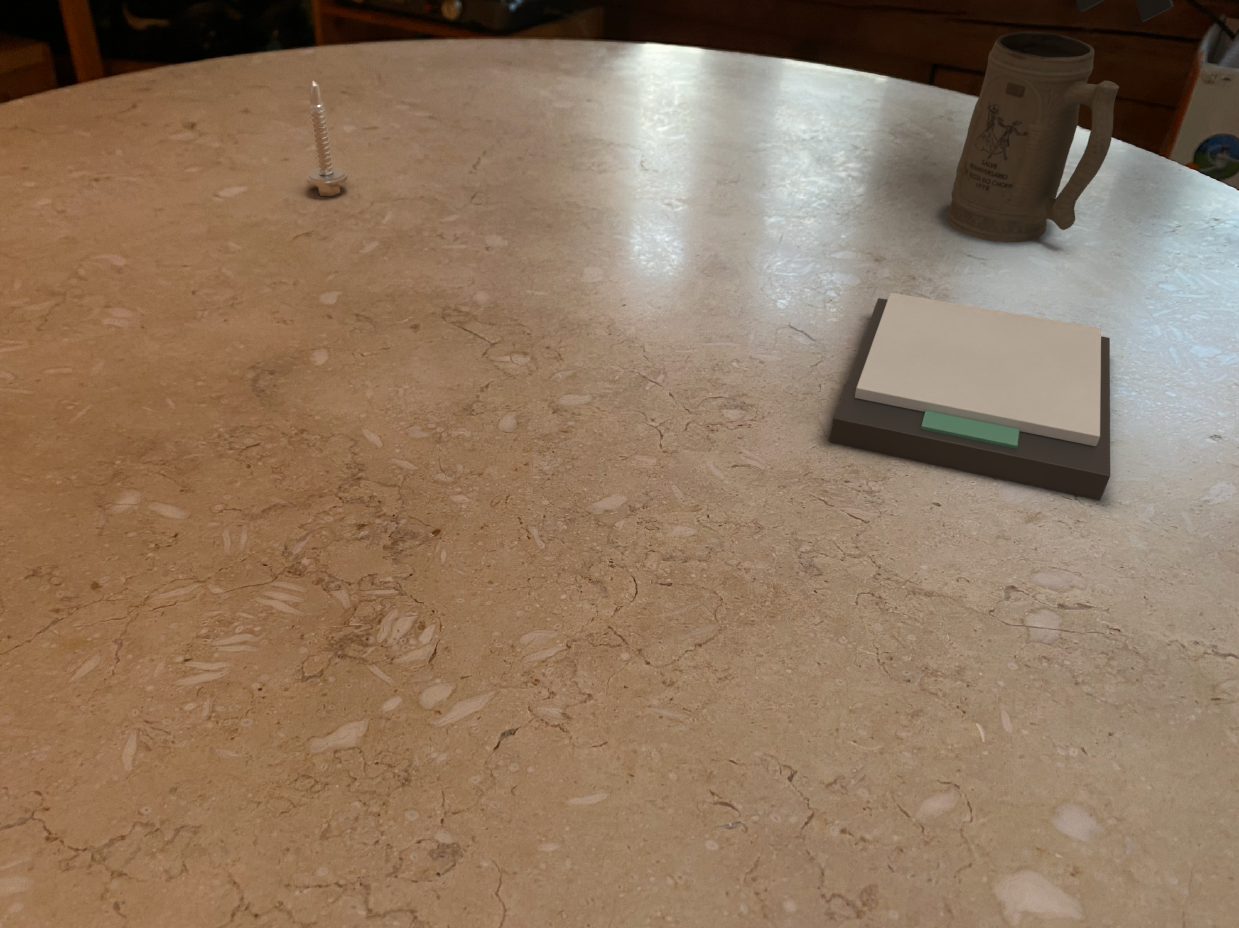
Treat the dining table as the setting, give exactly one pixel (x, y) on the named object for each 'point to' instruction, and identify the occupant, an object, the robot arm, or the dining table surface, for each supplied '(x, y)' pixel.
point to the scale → (982, 394)
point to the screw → (323, 149)
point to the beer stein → (1029, 138)
